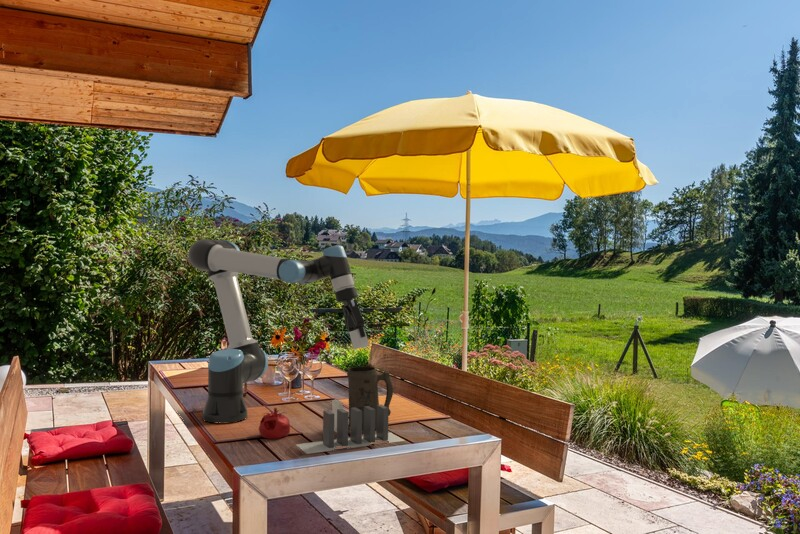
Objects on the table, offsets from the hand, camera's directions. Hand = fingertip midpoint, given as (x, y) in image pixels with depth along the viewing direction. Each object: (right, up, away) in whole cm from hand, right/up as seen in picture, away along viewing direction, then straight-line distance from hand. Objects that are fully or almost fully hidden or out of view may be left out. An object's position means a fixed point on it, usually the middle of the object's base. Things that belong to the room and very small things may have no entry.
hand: (361, 347), depth 216 cm
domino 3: (-4, -25, -28) cm, 38 cm away
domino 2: (-7, -26, -13) cm, 30 cm away
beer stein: (+3, -26, -7) cm, 27 cm away
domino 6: (+8, -26, -21) cm, 34 cm away
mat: (-2, -26, -26) cm, 37 cm away
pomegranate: (-26, -26, -20) cm, 42 cm away
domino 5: (+4, -26, -23) cm, 35 cm away
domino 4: (0, -26, -25) cm, 36 cm away
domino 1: (-8, -25, -30) cm, 40 cm away
